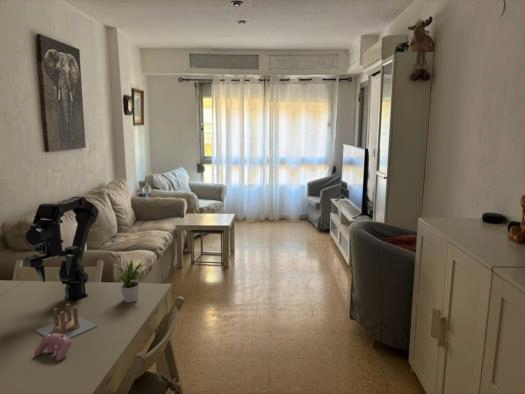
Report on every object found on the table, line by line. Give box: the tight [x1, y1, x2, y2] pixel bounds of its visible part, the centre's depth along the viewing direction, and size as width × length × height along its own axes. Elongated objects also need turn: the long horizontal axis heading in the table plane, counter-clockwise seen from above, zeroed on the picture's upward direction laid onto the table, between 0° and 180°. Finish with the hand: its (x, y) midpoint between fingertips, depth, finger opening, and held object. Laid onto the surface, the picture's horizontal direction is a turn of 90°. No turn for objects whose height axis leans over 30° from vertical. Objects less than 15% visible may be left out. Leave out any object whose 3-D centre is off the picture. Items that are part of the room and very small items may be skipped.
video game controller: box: [34, 333, 72, 362], centre depth 120 cm, size 10×5×7 cm, turn 72°
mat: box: [35, 315, 98, 340], centre depth 135 cm, size 14×14×1 cm
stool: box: [52, 303, 80, 334], centre depth 134 cm, size 6×6×7 cm
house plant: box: [114, 258, 149, 303], centre depth 156 cm, size 14×14×16 cm
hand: (56, 278), depth 148 cm, fingers open, 9 cm apart
